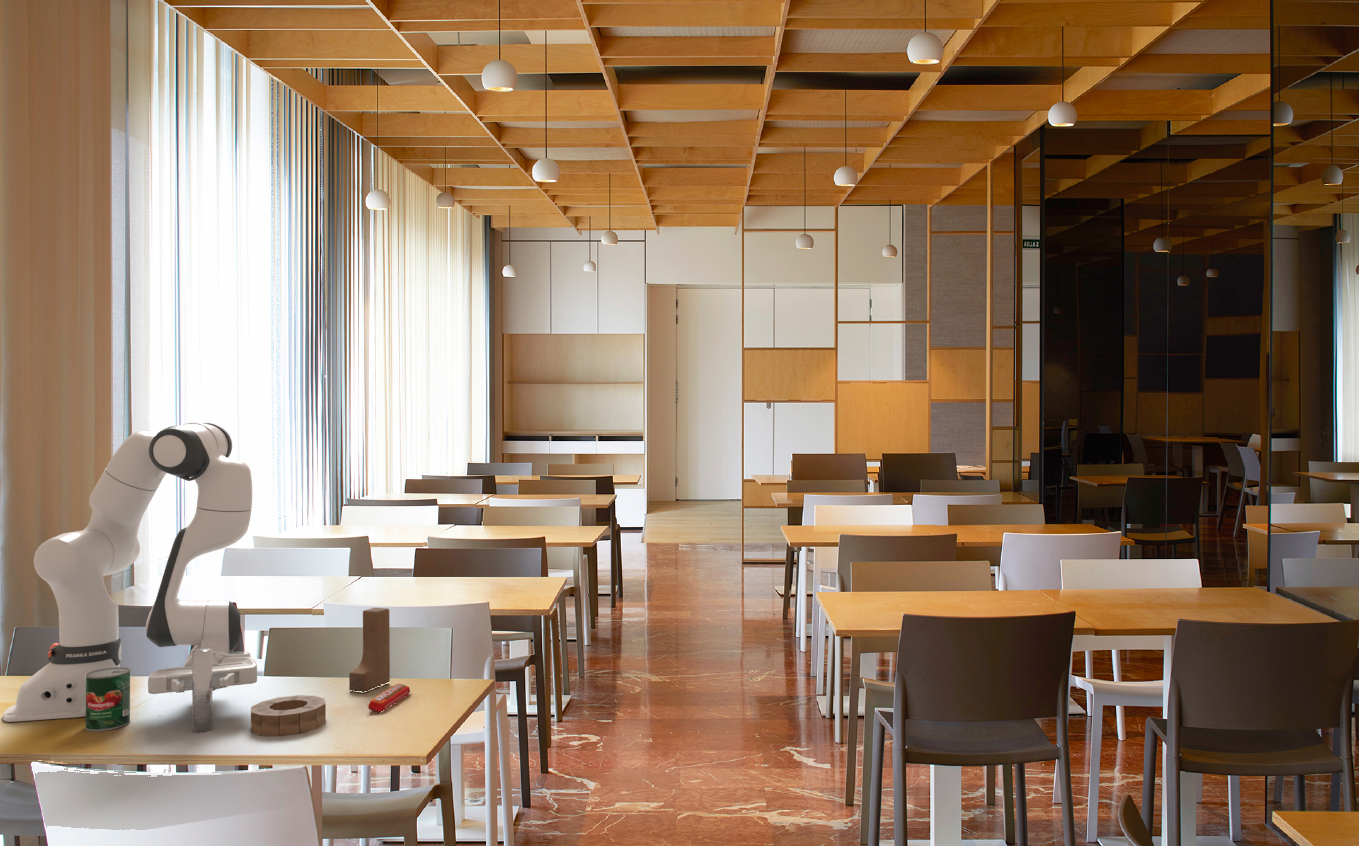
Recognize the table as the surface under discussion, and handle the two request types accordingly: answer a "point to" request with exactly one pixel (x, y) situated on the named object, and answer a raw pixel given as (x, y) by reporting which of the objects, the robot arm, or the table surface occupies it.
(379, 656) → the wooden block
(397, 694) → the candy bar
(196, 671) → the steel peg
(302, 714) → the walnut ring
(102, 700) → the canned tomato
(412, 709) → the table surface
